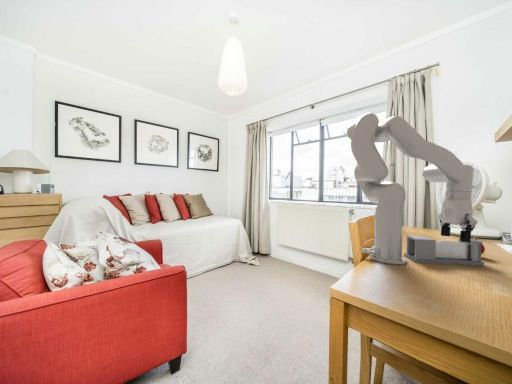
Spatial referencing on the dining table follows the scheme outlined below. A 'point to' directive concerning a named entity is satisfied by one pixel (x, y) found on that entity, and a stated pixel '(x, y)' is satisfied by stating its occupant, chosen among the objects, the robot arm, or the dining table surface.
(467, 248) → the grey rectangular block
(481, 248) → the onion
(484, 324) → the dining table surface
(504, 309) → the dining table surface
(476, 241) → the socket
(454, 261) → the board
